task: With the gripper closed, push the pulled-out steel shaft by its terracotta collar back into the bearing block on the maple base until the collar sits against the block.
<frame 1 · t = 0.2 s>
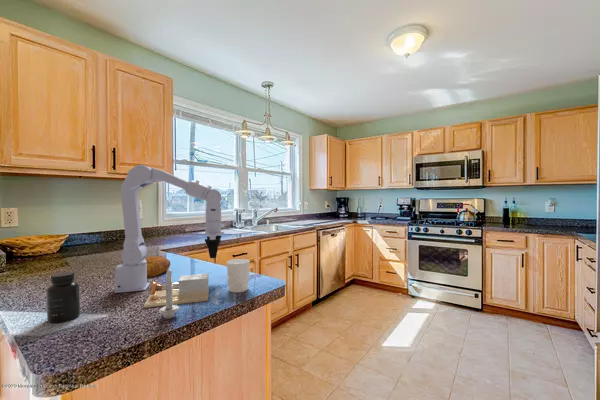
hand: (213, 255, 107), 10 cm above the counter, tool pointing down, fingers open, 7 cm apart
screw: (169, 317, 75), on the counter
white cup: (238, 290, 98), on the counter
shaft: (170, 286, 90), point 3 cm above the counter, slide at 6.5 cm
supplement bottle: (63, 319, 75), on the counter
bearing block: (179, 296, 91), on the counter
croissant: (151, 273, 121), on the counter
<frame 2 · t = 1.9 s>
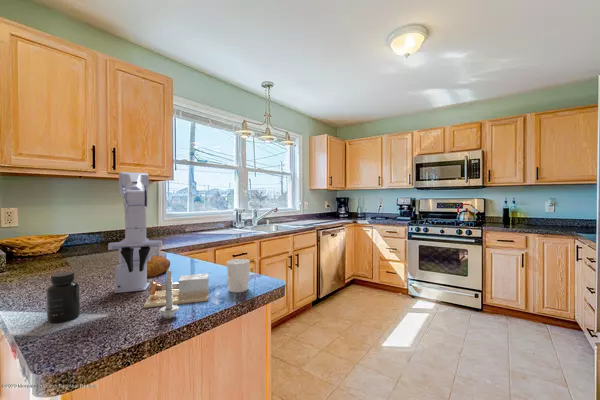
hand: (136, 271, 87), 9 cm above the counter, tool pointing down, fingers closed
nothing on the counter moved.
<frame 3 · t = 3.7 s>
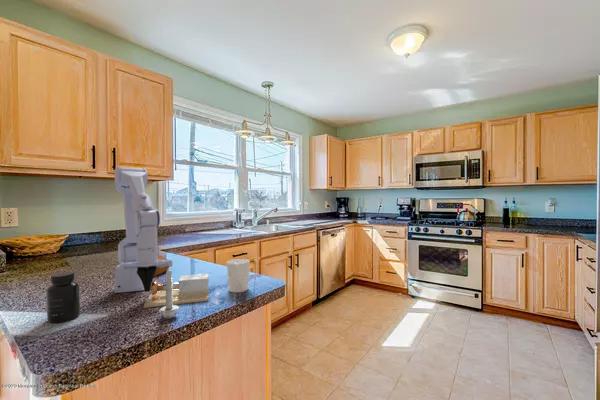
hand: (147, 290, 88), 3 cm above the counter, tool pointing down, fingers closed
shaft: (171, 286, 90), point 3 cm above the counter, slide at 6.2 cm, touching gripper
everything else where it was.
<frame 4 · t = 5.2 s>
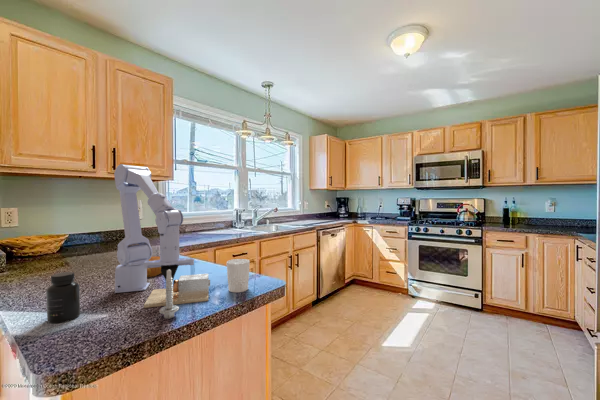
hand: (170, 288, 90), 3 cm above the counter, tool pointing down, fingers closed
shaft: (192, 284, 92), point 3 cm above the counter, slide at -0.1 cm, touching gripper
everything else where it was.
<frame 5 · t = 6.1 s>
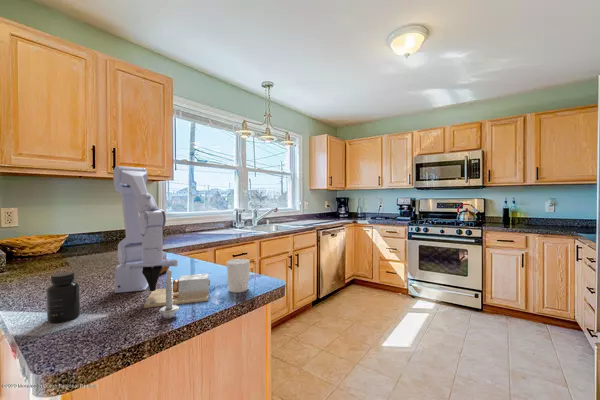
hand: (152, 290, 89), 3 cm above the counter, tool pointing down, fingers closed
shaft: (192, 284, 92), point 3 cm above the counter, slide at 0.0 cm
everything else where it was.
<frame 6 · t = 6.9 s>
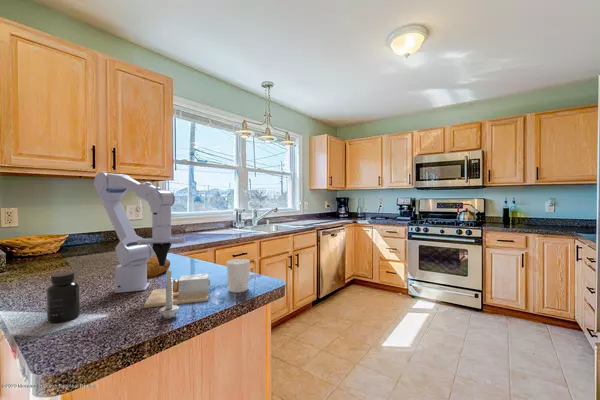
hand: (162, 265, 95), 9 cm above the counter, tool pointing down, fingers closed
nothing on the counter moved.
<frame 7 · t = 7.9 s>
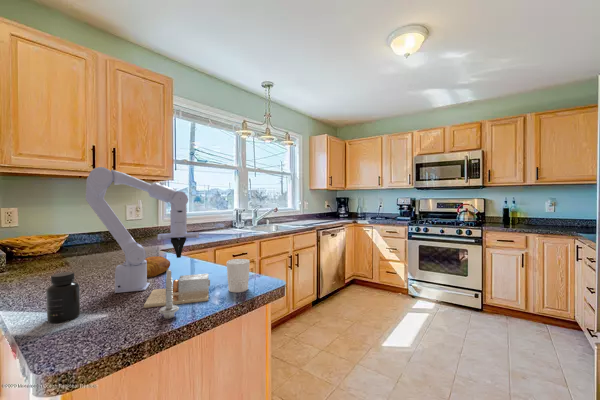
hand: (178, 257, 107), 9 cm above the counter, tool pointing down, fingers closed
nothing on the counter moved.
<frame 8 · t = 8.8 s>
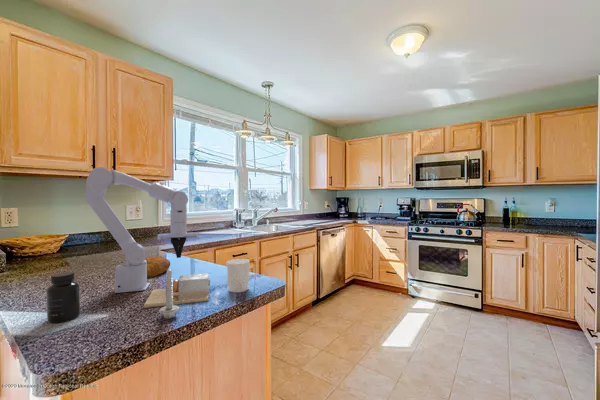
hand: (178, 257, 107), 9 cm above the counter, tool pointing down, fingers closed
nothing on the counter moved.
at the end: shaft slide at 0.0 cm; screw moved 0.2 cm from its start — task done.
